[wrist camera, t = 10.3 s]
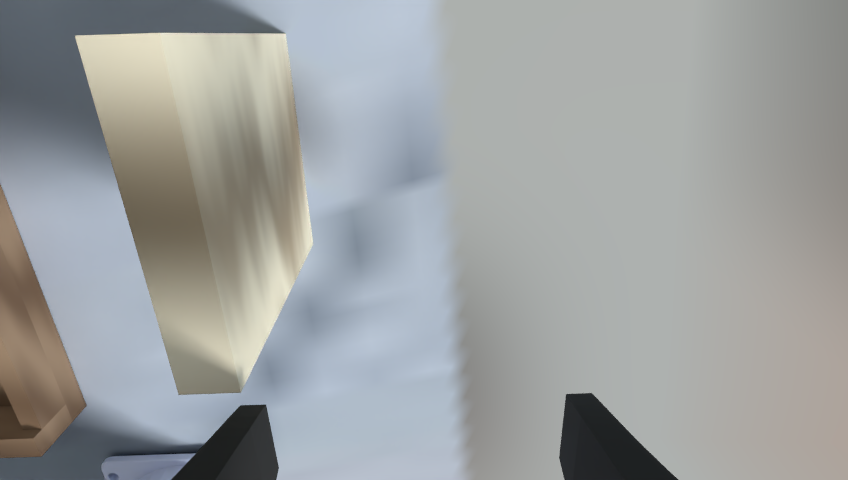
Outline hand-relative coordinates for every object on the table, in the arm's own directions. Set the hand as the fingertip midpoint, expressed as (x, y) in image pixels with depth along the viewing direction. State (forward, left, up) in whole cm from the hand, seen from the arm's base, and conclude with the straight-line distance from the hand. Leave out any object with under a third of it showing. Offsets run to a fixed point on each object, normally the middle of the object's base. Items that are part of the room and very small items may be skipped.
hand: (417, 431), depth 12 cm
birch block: (+5, +5, -10) cm, 12 cm away
